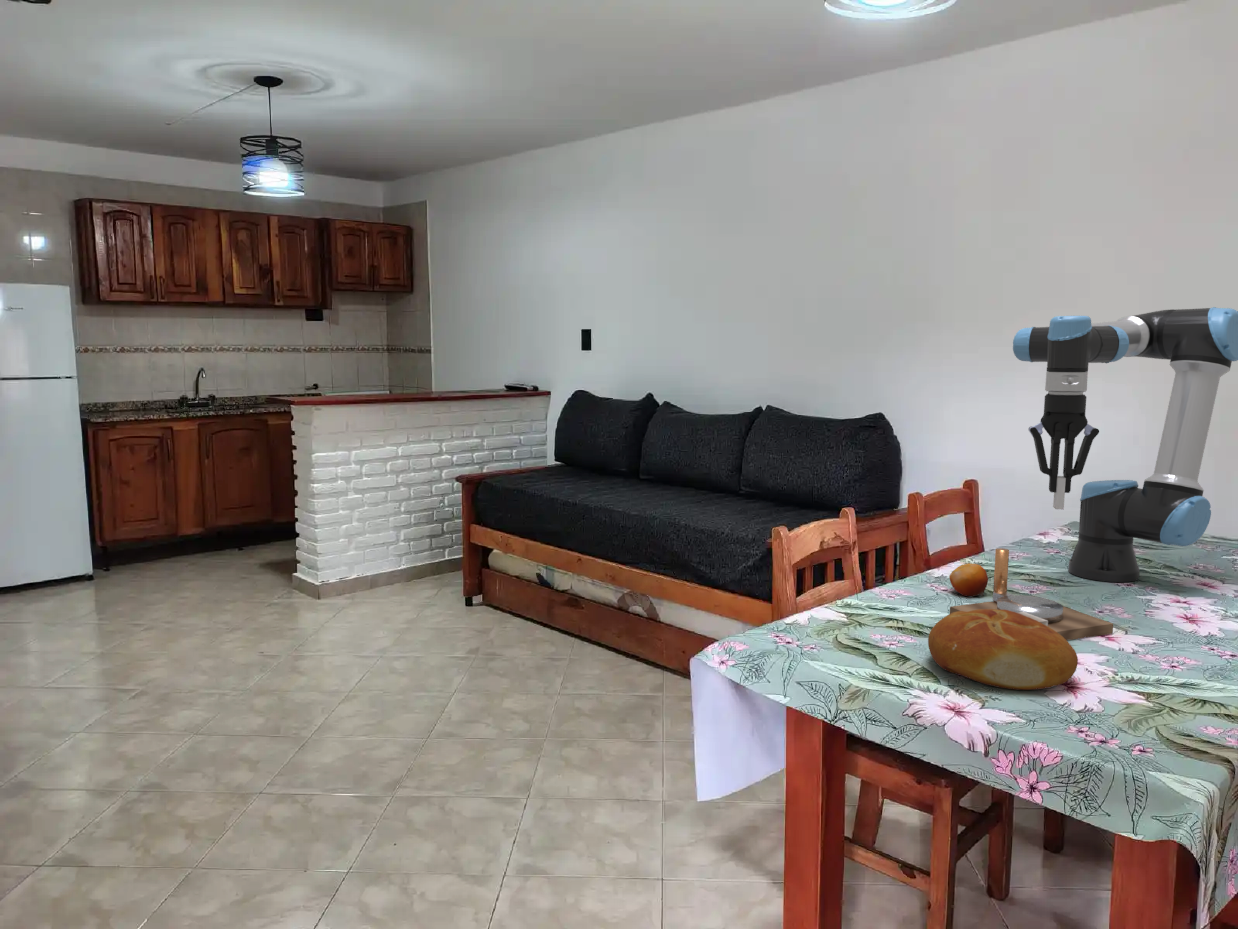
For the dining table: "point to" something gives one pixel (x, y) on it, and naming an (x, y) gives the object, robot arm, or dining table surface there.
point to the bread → (1002, 649)
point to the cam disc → (1020, 602)
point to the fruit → (969, 579)
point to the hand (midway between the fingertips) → (1058, 508)
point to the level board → (1068, 626)
